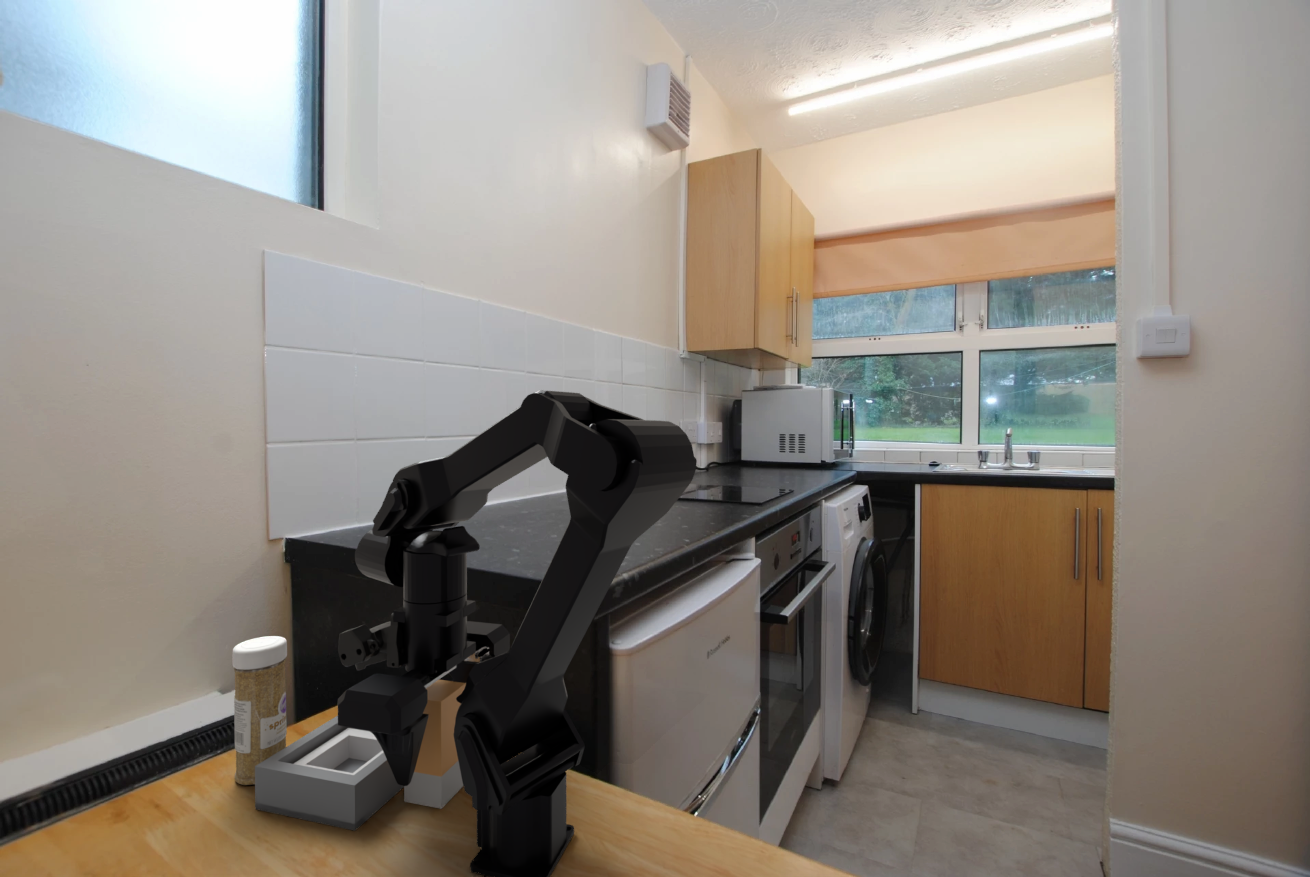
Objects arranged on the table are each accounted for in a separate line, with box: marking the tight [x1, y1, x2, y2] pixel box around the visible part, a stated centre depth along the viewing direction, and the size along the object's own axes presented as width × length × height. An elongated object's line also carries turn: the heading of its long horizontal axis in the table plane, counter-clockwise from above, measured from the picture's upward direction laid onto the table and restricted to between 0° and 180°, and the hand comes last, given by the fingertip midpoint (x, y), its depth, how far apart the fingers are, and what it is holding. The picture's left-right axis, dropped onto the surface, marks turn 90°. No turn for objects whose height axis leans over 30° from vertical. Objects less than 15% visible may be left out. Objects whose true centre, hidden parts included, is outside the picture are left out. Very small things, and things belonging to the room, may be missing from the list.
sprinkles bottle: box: [231, 635, 288, 786], centre depth 58 cm, size 5×5×14 cm
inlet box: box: [254, 715, 404, 832], centre depth 57 cm, size 11×11×4 cm
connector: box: [403, 679, 466, 810], centre depth 55 cm, size 4×4×10 cm
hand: (435, 756), depth 55 cm, fingers open, 9 cm apart
